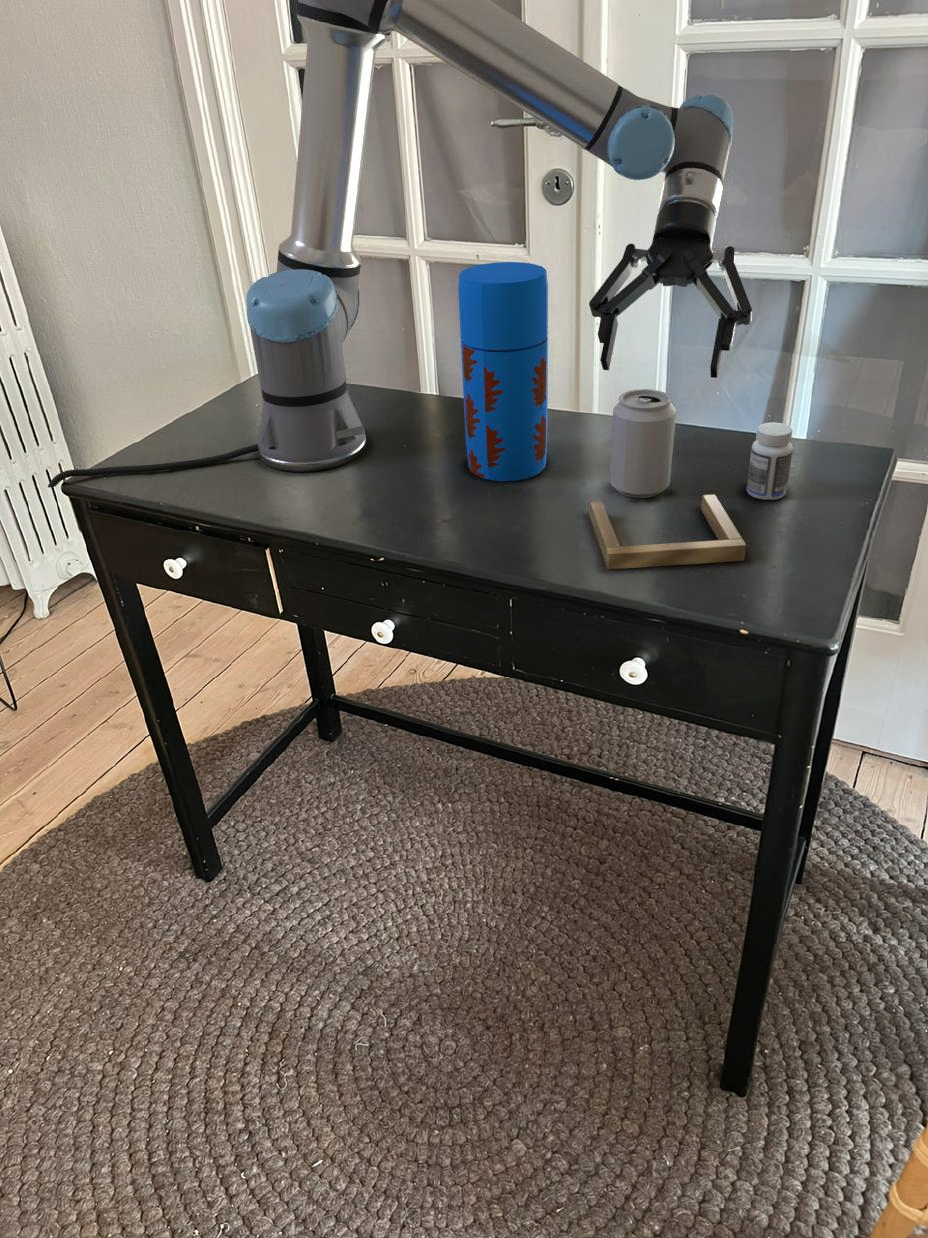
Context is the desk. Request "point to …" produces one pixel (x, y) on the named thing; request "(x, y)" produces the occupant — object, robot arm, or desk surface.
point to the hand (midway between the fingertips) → (658, 369)
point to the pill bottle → (770, 461)
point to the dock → (673, 553)
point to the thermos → (505, 368)
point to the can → (642, 443)
